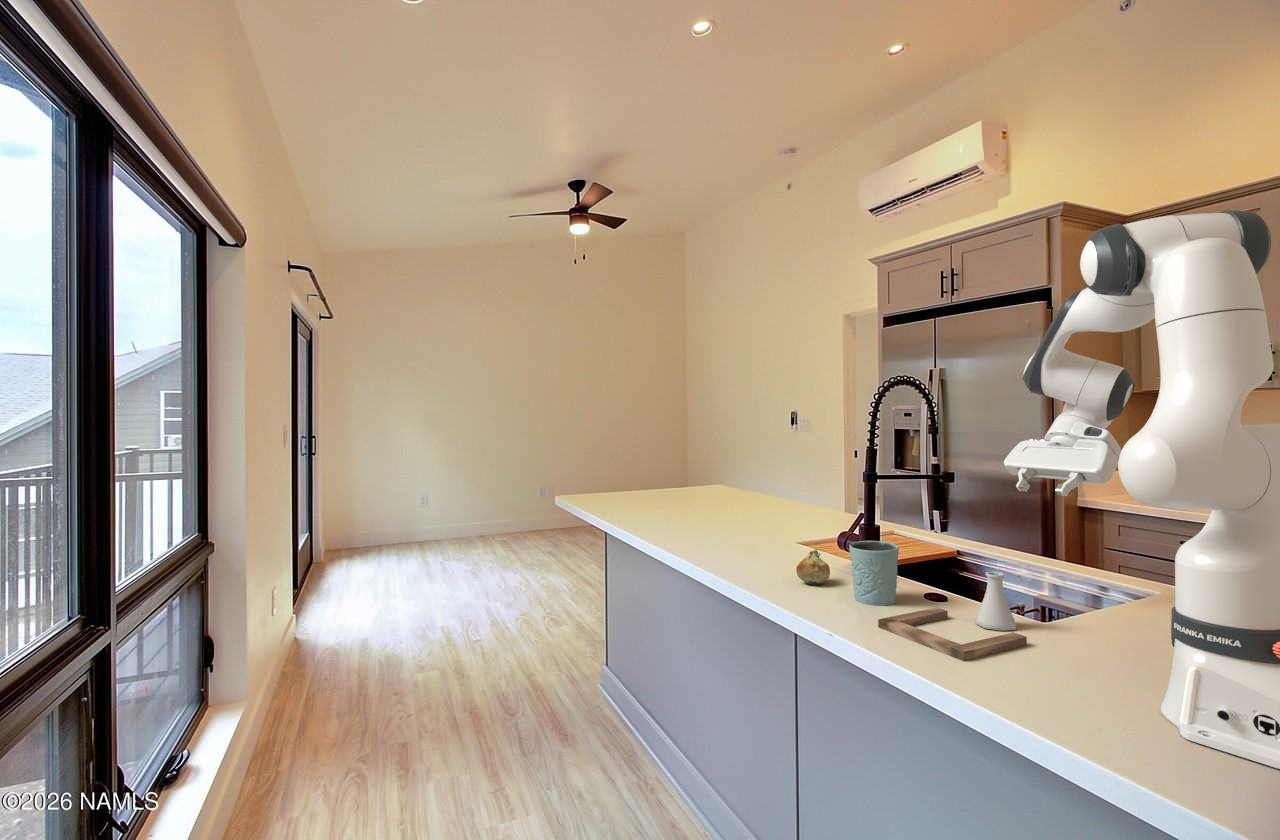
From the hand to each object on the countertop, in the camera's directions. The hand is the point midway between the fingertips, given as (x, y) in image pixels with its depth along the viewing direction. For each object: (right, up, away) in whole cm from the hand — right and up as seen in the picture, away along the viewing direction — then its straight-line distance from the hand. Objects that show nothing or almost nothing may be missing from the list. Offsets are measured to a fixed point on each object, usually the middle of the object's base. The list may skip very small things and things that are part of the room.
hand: (1039, 491), depth 130 cm
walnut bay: (-23, -25, -10) cm, 35 cm away
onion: (-38, -25, +27) cm, 53 cm away
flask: (-12, -25, -5) cm, 28 cm away
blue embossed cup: (-28, -25, +13) cm, 40 cm away
